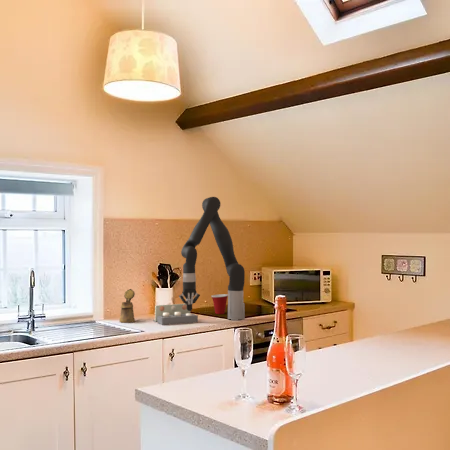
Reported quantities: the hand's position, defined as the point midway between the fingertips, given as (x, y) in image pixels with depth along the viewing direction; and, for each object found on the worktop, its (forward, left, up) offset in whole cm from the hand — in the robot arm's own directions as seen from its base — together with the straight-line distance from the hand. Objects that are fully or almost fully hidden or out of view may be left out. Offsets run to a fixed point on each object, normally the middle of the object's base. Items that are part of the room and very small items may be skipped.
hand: (189, 310), depth 327 cm
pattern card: (+7, -9, -6) cm, 13 cm away
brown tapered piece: (+31, -18, -7) cm, 37 cm away
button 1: (+14, 0, -3) cm, 15 cm away
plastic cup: (-30, -22, -7) cm, 37 cm away
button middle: (+7, 0, -3) cm, 8 cm away
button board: (+7, 0, -6) cm, 10 cm away
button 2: (0, 0, -4) cm, 4 cm away
